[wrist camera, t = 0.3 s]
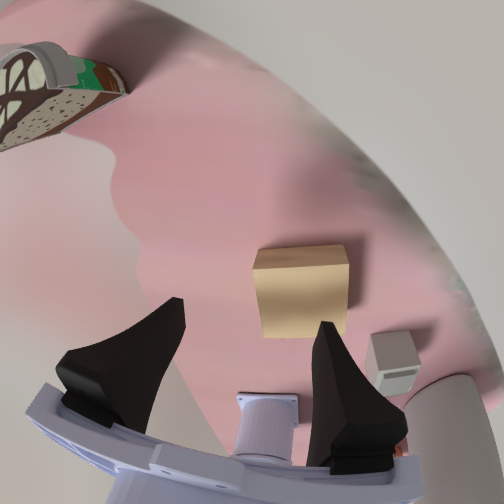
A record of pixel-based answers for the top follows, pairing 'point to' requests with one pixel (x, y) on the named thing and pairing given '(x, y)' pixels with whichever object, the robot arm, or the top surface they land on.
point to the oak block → (301, 289)
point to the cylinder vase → (454, 444)
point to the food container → (51, 92)
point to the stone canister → (392, 362)
